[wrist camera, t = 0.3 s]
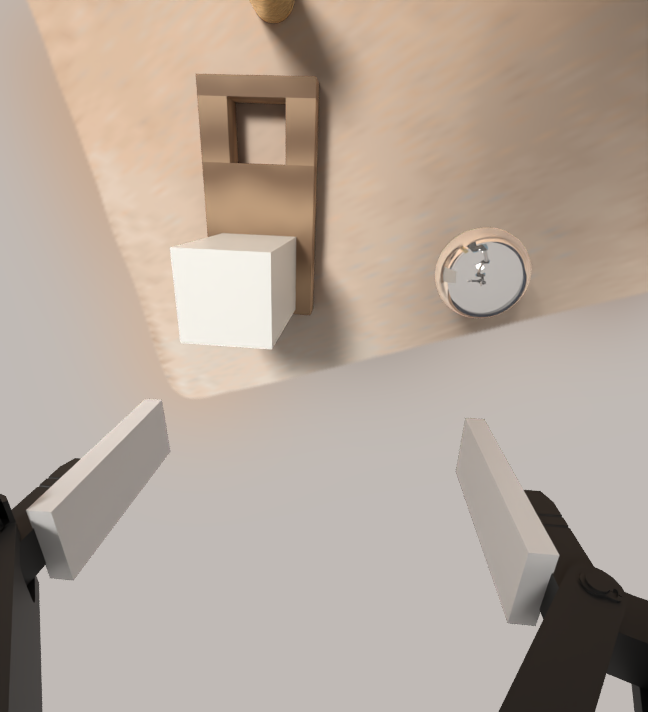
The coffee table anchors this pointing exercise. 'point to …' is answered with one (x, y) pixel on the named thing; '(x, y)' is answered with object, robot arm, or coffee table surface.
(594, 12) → the coffee table surface
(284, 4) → the pin
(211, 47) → the coffee table surface
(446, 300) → the light bulb
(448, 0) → the coffee table surface
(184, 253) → the block
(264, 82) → the board
